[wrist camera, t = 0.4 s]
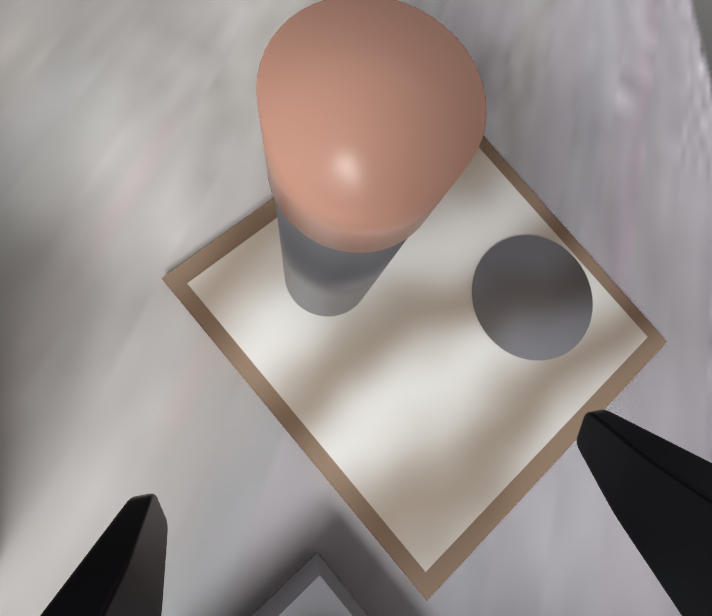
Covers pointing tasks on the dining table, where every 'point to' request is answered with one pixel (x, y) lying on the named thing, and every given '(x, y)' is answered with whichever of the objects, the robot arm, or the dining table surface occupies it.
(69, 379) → the dining table surface
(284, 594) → the button collar
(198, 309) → the board
